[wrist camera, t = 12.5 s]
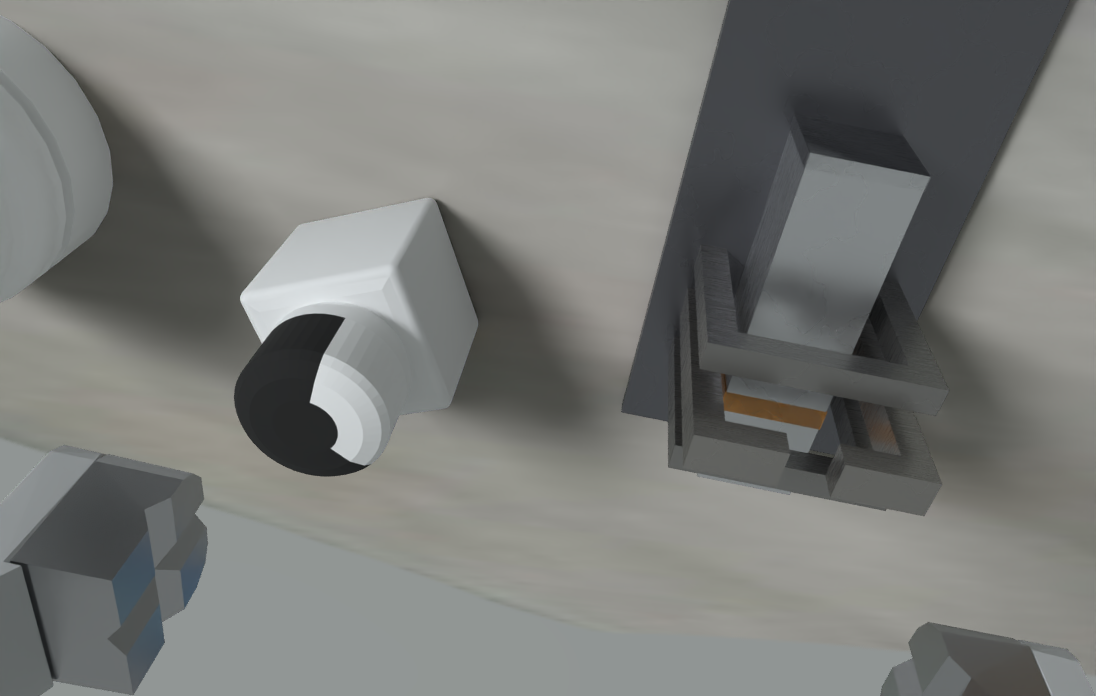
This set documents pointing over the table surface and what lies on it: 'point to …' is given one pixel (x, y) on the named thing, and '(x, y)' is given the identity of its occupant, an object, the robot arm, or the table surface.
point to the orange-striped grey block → (820, 260)
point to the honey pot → (45, 162)
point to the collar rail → (738, 203)
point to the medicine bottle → (353, 336)
